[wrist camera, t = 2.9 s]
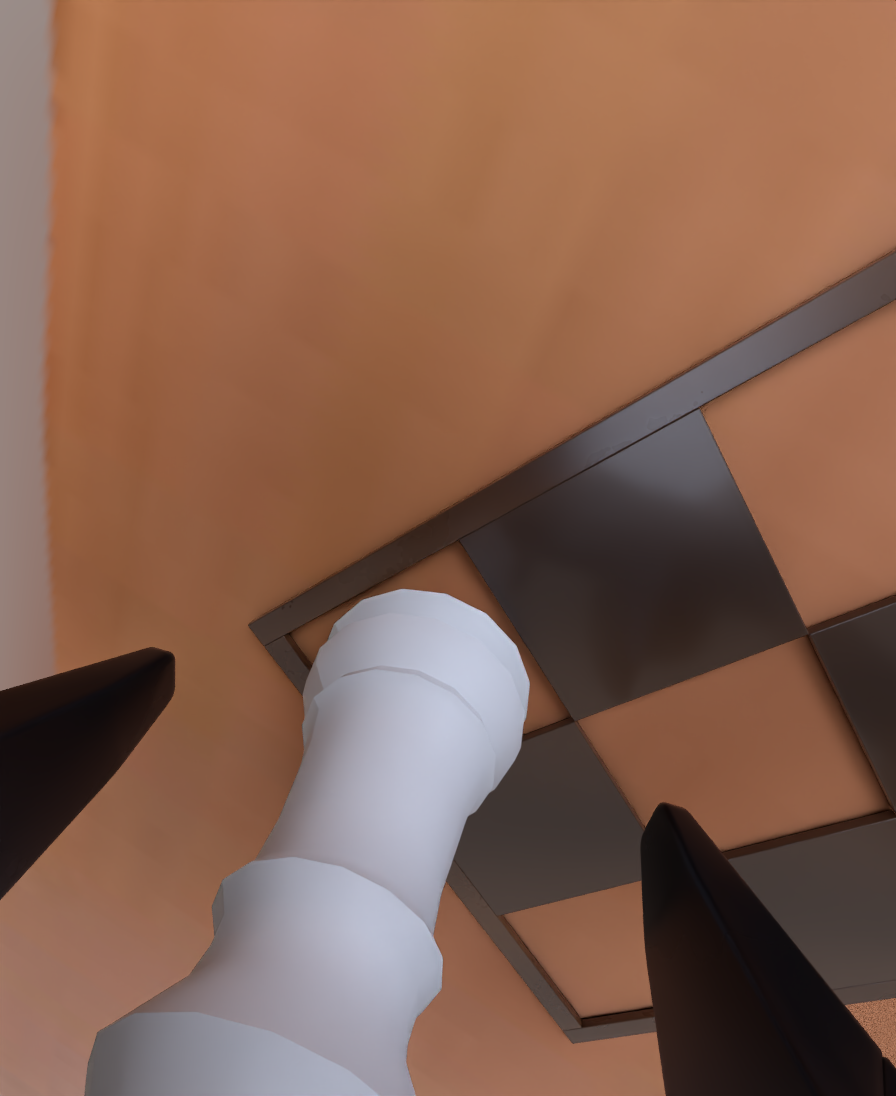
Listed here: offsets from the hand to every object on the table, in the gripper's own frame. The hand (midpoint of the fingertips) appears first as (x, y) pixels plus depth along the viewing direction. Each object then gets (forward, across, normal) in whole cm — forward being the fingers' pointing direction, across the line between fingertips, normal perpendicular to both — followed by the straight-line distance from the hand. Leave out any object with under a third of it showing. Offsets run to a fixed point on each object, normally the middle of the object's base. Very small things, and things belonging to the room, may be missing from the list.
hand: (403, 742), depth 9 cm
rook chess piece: (+2, 0, 0) cm, 2 cm away
